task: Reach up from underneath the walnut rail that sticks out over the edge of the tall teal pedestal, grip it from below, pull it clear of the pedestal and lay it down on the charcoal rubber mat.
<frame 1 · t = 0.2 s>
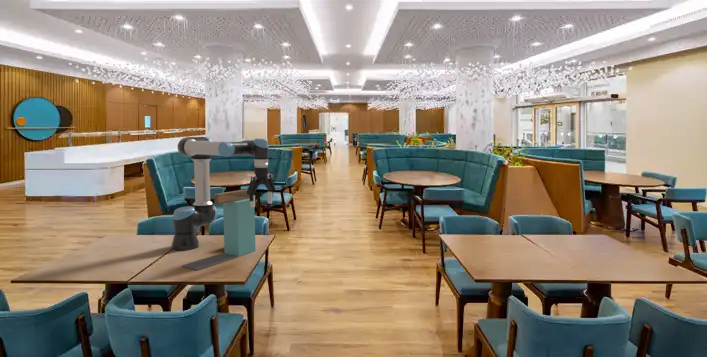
hand: (261, 205, 244), 28 cm above the table, tool pointing down, fingers open, 13 cm apart
walnut rail: (234, 200, 243), point 30 cm above the table, touching teal pedestal
teal pedestal: (240, 252, 250), on the table
charcoal mat: (210, 261, 231), on the table
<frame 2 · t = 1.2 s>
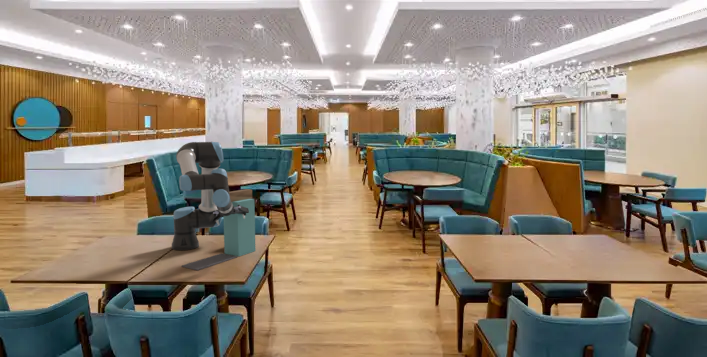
hand: (231, 219, 240), 20 cm above the table, tool tilted 60°, fingers open, 13 cm apart
nothing on the table moved.
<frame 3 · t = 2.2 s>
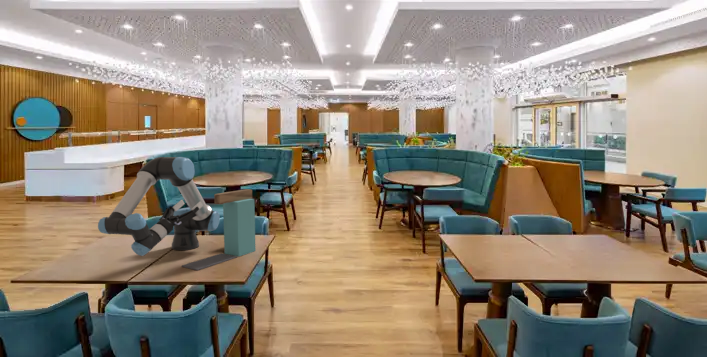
hand: (192, 202, 226), 32 cm above the table, tool pointing upward, fingers open, 13 cm apart
nothing on the table moved.
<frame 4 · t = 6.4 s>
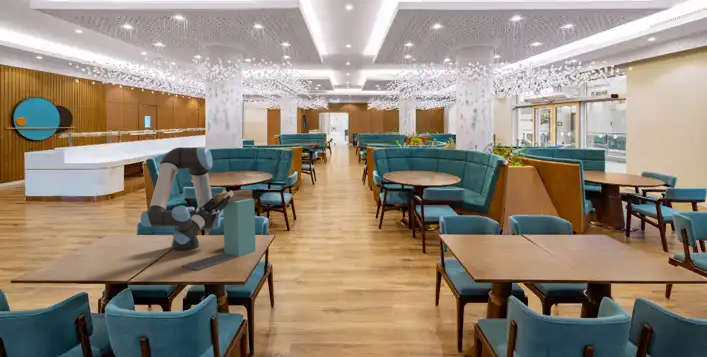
hand: (229, 192, 240), 35 cm above the table, tool pointing upward, fingers closed on walnut rail, 4 cm apart
walnut rail: (234, 200, 243), point 30 cm above the table, touching gripper, teal pedestal
everything else where it was.
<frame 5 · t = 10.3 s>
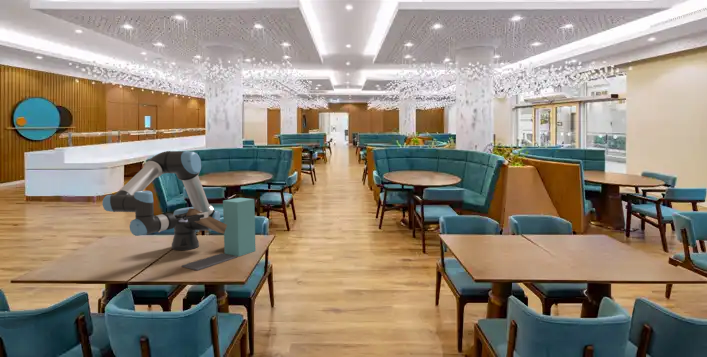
hand: (204, 214, 226), 26 cm above the table, tool horizontal, fingers closed on walnut rail, 4 cm apart
walnut rail: (205, 225, 227), point 20 cm above the table, tilted 30°, touching gripper
everything else where it was.
when the fingers open (7 cm above the table, at t = 14.0 s): walnut rail drops 3 cm, resting on charcoal mat.
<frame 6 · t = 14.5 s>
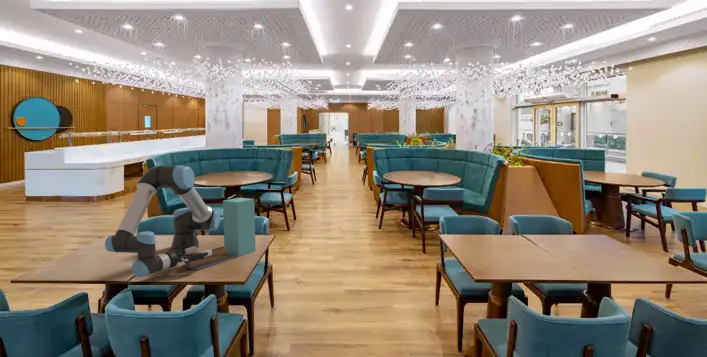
hand: (203, 250, 227), 7 cm above the table, tool horizontal, fingers open, 11 cm apart
walnut rail: (207, 261, 230), point 1 cm above the table, touching charcoal mat
everything else where it was.
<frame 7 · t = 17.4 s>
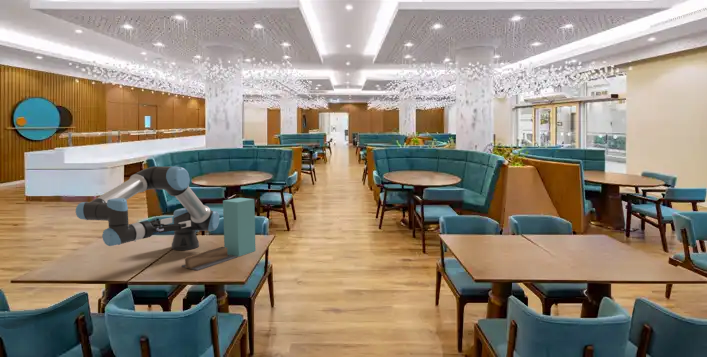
hand: (181, 221, 214), 24 cm above the table, tool horizontal, fingers open, 13 cm apart
nothing on the table moved.
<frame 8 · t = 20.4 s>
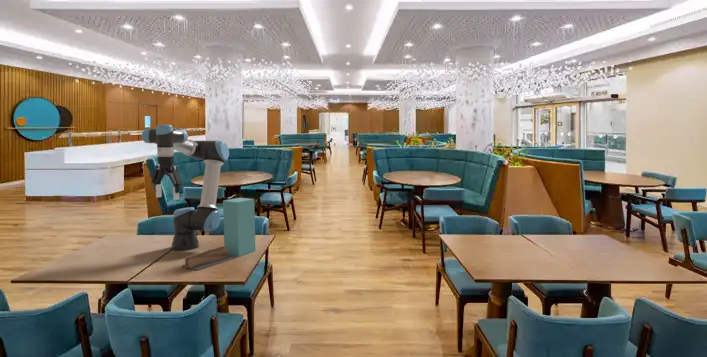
hand: (167, 198, 221), 35 cm above the table, tool pointing down, fingers open, 13 cm apart
nothing on the table moved.
at the end: walnut rail inside the target area (1.8 cm from its centre), point 0.6 cm above the table; walnut rail touching charcoal mat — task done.
